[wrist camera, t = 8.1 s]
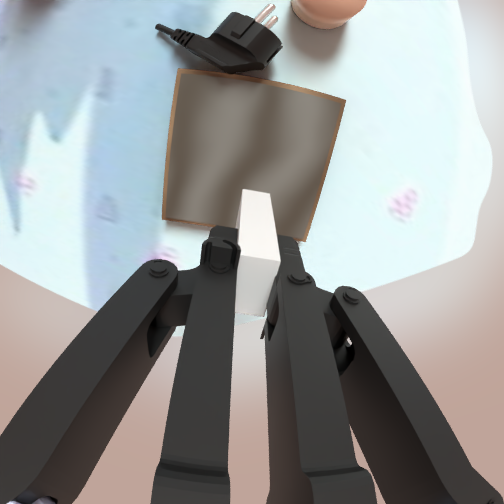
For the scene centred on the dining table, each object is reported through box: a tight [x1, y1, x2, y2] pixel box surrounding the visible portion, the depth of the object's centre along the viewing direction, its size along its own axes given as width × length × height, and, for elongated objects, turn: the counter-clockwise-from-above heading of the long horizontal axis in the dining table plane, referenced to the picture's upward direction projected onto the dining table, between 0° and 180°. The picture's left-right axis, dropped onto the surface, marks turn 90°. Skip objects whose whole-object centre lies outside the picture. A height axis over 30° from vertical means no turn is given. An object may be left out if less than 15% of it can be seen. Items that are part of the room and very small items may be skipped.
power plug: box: [155, 4, 283, 74], centre depth 19 cm, size 6×8×12 cm
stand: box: [162, 68, 346, 242], centre depth 27 cm, size 16×16×2 cm
